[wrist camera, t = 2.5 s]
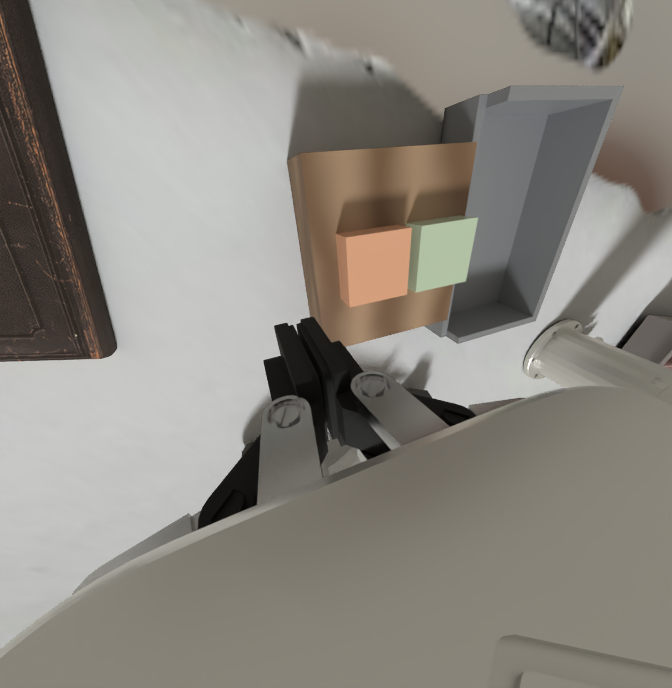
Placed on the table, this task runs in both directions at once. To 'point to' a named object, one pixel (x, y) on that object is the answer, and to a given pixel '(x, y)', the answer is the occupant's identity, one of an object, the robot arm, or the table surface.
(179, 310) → the table surface
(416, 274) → the tile
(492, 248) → the box
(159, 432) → the table surface
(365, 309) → the platform
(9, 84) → the hardcover book
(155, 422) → the table surface
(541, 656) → the robot arm
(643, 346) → the organizer tray
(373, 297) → the tile
